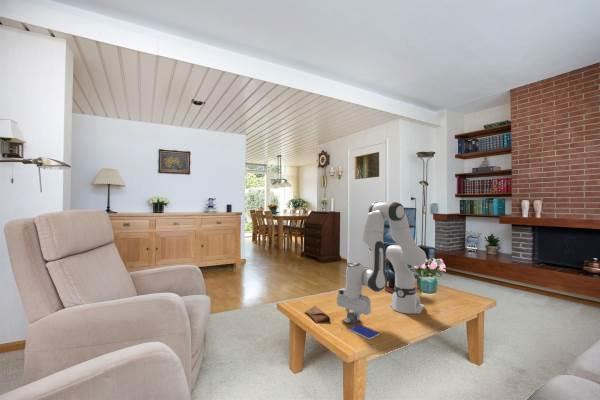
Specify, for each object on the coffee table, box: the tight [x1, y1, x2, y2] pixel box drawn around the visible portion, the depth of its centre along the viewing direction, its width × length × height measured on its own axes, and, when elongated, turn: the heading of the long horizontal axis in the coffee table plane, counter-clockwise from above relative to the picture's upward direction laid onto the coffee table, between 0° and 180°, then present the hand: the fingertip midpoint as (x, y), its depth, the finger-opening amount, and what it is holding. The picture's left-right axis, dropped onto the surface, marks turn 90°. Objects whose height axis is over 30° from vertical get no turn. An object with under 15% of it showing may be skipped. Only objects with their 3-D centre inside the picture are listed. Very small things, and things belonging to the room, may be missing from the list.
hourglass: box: [384, 255, 395, 295], centre depth 213 cm, size 16×16×25 cm
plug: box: [343, 310, 360, 325], centre depth 156 cm, size 11×4×4 cm, turn 136°
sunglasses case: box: [304, 304, 331, 324], centre depth 162 cm, size 18×7×7 cm
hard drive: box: [349, 324, 380, 340], centre depth 143 cm, size 2×8×12 cm
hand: (353, 317), depth 157 cm, fingers closed on plug, 4 cm apart
